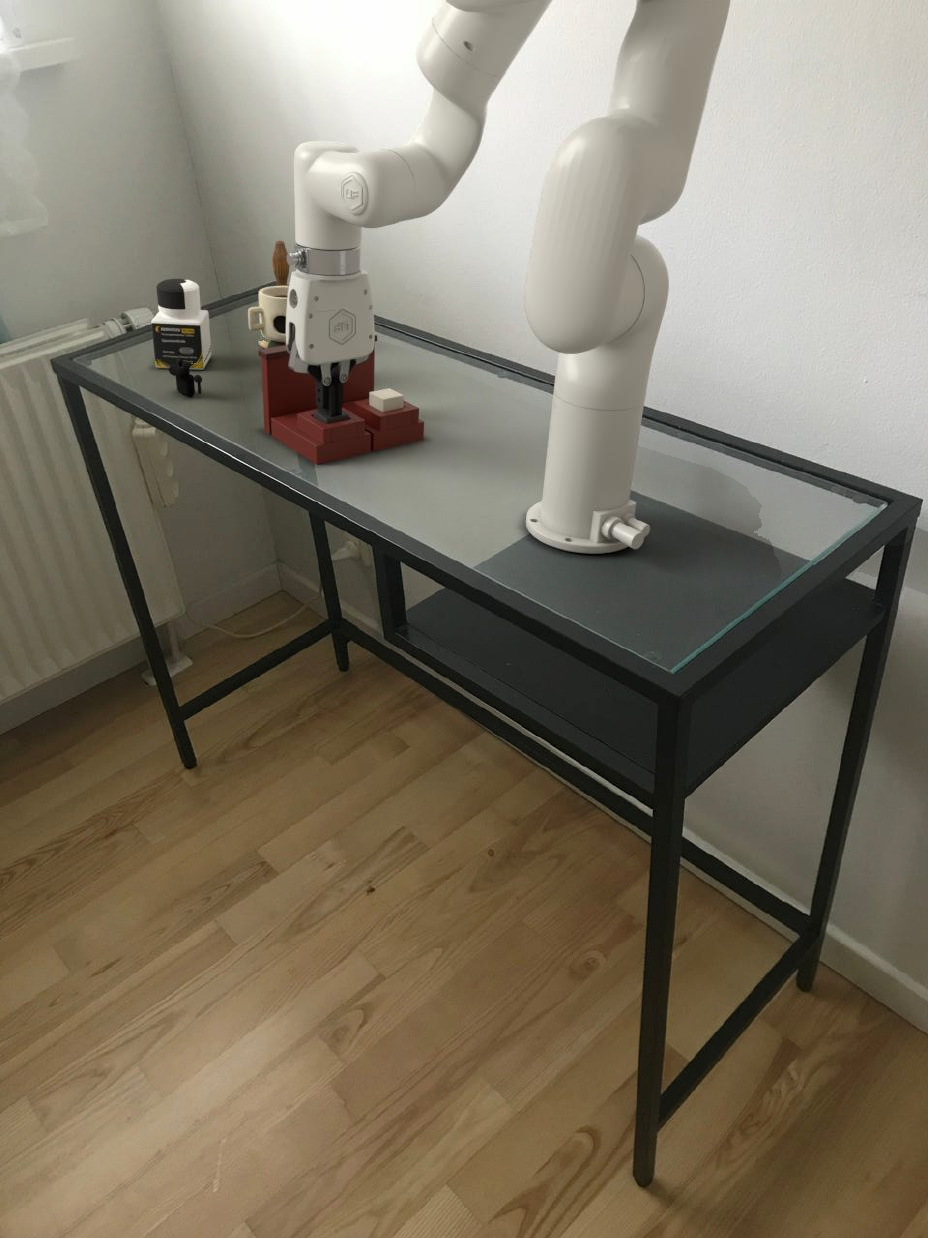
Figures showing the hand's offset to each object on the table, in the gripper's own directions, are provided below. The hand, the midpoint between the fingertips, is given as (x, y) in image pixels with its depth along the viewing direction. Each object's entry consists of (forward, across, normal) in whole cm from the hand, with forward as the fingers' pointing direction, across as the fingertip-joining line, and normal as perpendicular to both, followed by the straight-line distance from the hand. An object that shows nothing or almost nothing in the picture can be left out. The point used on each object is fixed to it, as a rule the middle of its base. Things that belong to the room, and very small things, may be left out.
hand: (329, 411), depth 129 cm
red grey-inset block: (+5, 0, +2) cm, 6 cm away
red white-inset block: (+5, +8, +2) cm, 10 cm away
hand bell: (+5, +18, +41) cm, 45 cm away
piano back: (+5, +4, +9) cm, 11 cm away
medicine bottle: (+5, 0, +40) cm, 41 cm away
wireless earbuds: (+5, -7, +27) cm, 28 cm away
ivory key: (+1, +8, 0) cm, 9 cm away
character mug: (+5, +9, +25) cm, 27 cm away
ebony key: (+2, 0, 0) cm, 2 cm away
